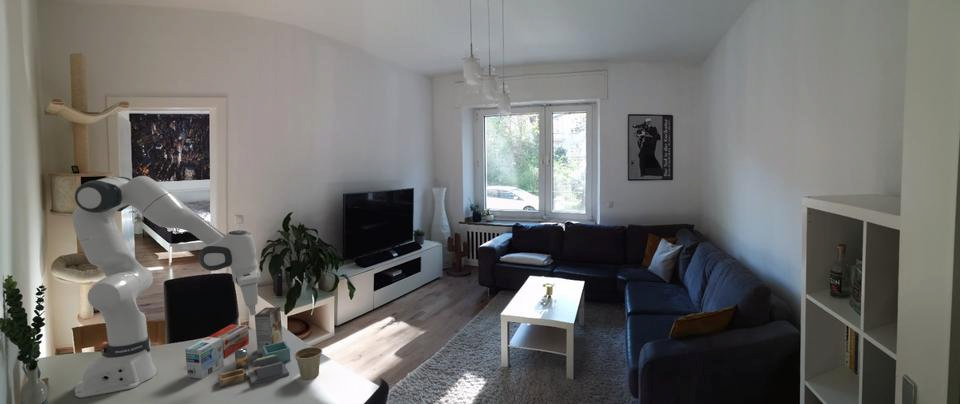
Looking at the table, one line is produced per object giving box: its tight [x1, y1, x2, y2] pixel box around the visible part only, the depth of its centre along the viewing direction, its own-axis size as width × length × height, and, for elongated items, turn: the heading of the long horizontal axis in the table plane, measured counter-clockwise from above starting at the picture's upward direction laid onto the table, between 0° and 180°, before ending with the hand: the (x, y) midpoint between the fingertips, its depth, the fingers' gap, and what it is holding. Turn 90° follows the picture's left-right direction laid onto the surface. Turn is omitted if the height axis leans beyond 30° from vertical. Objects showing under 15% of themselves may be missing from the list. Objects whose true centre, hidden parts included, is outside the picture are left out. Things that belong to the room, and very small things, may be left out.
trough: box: [218, 368, 248, 388], centre depth 159 cm, size 8×5×2 cm, turn 125°
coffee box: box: [254, 306, 284, 354], centre depth 184 cm, size 9×6×16 cm
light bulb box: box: [184, 336, 225, 379], centre depth 166 cm, size 11×7×11 cm, turn 168°
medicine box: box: [208, 323, 250, 360], centre depth 184 cm, size 15×8×8 cm, turn 170°
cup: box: [262, 340, 291, 364], centre depth 175 cm, size 8×8×5 cm
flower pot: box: [293, 346, 323, 380], centre depth 162 cm, size 9×9×9 cm
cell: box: [234, 347, 249, 371], centre depth 168 cm, size 4×4×8 cm
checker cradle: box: [247, 355, 290, 386], centre depth 163 cm, size 12×9×5 cm
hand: (252, 311), depth 166 cm, fingers open, 8 cm apart
